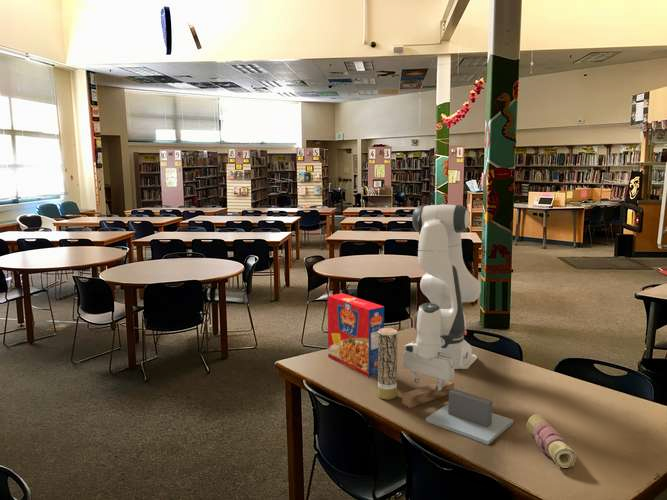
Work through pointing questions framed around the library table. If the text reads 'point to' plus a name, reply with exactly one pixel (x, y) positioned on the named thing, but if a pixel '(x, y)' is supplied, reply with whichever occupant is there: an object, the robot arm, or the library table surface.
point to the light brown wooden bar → (426, 394)
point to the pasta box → (354, 332)
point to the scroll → (551, 441)
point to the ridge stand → (470, 417)
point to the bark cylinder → (387, 363)
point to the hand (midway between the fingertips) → (427, 386)
